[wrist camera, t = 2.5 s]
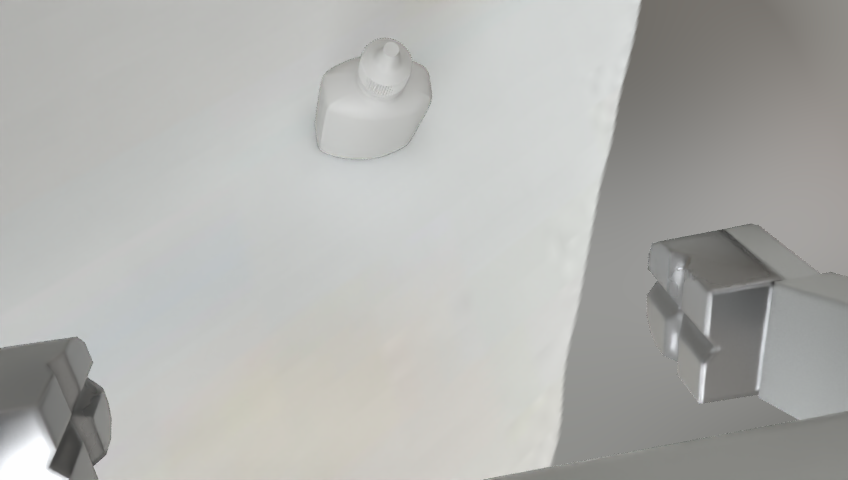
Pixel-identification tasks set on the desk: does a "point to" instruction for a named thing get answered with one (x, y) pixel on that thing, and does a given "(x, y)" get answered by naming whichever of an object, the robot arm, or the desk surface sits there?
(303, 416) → the desk surface
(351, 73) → the eye dropper bottle
